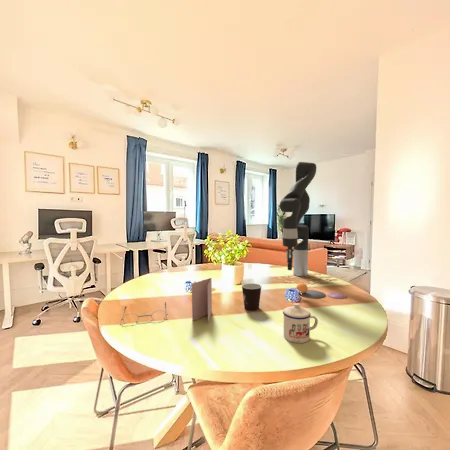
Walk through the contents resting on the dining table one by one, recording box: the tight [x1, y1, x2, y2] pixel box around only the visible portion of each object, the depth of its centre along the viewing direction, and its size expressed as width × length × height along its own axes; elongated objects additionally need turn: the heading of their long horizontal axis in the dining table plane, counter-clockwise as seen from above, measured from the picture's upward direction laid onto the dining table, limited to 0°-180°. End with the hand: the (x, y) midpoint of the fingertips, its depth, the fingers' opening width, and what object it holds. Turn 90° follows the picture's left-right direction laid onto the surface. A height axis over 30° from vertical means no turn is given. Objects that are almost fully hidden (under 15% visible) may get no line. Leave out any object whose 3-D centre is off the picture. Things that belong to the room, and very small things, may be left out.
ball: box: [295, 282, 309, 294], centre depth 135 cm, size 6×6×6 cm
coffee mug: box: [241, 282, 262, 312], centre depth 117 cm, size 12×9×10 cm
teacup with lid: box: [282, 302, 319, 344], centre depth 89 cm, size 12×9×12 cm
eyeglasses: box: [120, 301, 169, 323], centre depth 112 cm, size 18×19×4 cm
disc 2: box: [327, 292, 348, 300], centre depth 131 cm, size 9×9×1 cm
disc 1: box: [301, 289, 327, 299], centre depth 134 cm, size 13×13×1 cm
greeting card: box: [191, 277, 213, 323], centre depth 105 cm, size 11×7×15 cm, turn 141°
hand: (289, 269), depth 136 cm, fingers closed
